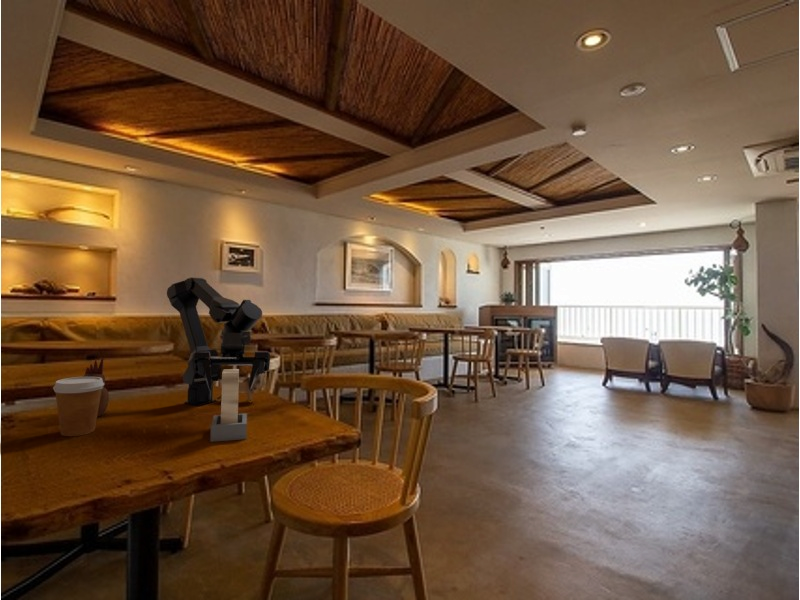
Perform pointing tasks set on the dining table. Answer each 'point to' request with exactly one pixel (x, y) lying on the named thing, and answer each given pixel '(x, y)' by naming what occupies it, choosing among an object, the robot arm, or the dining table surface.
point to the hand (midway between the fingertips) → (230, 389)
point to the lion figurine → (255, 388)
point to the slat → (229, 396)
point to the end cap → (228, 429)
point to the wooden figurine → (104, 393)
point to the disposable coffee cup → (78, 404)
